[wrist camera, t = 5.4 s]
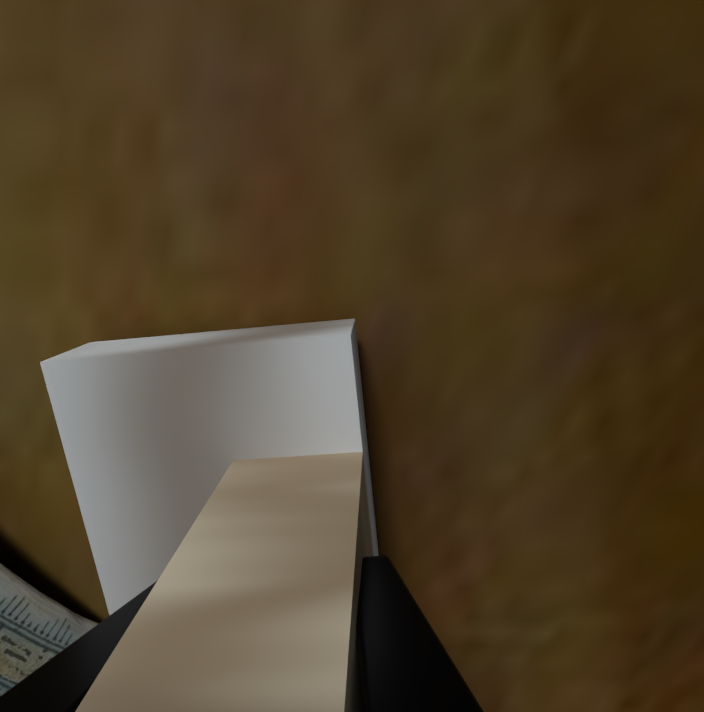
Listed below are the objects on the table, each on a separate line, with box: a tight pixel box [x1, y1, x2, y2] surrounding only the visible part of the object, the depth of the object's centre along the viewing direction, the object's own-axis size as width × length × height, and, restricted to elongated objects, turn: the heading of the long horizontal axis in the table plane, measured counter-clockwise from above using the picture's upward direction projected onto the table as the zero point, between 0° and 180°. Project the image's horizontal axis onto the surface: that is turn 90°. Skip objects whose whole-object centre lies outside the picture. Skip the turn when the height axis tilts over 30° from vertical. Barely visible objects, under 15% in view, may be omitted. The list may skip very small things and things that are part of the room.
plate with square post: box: [40, 319, 379, 712], centre depth 7 cm, size 6×7×9 cm
